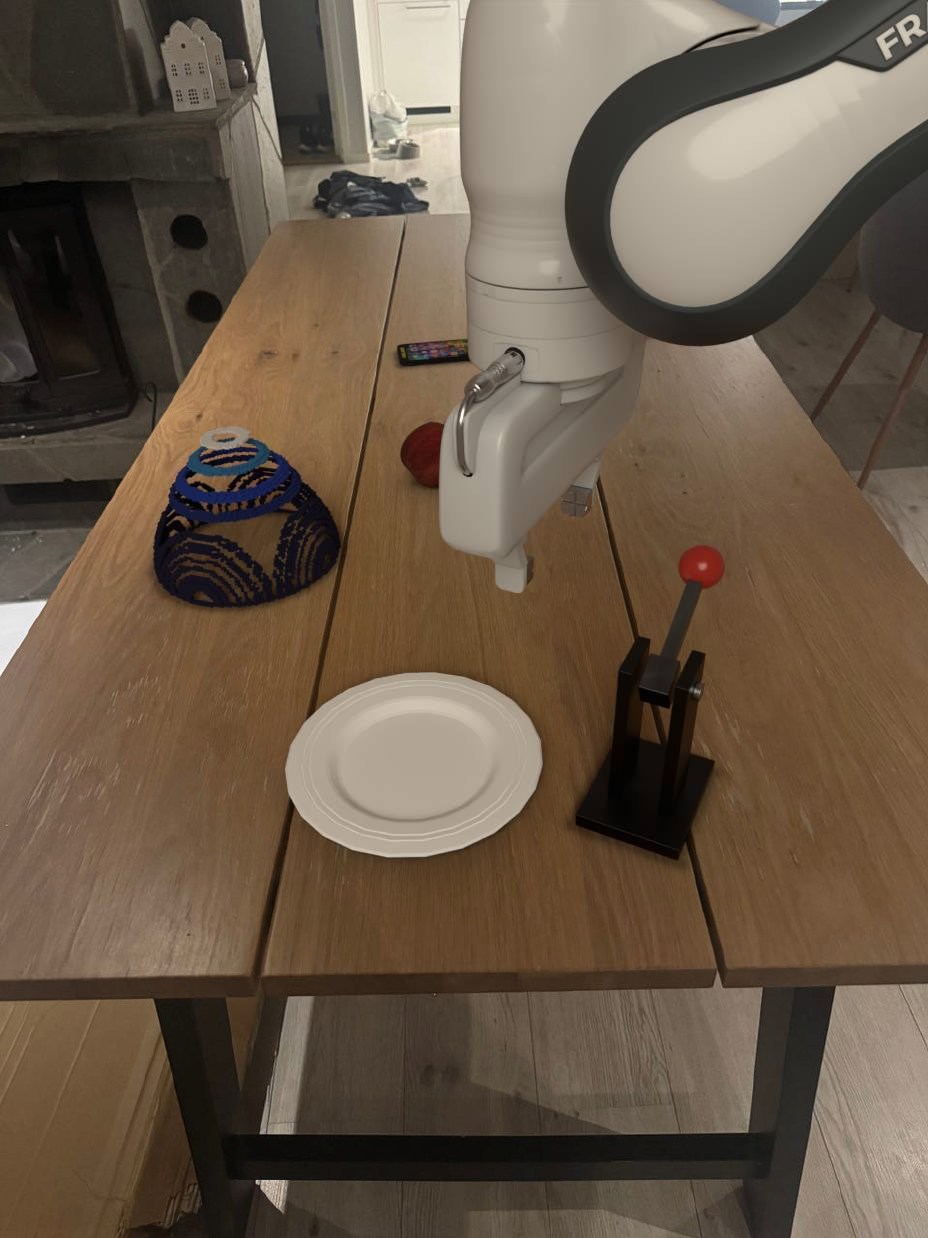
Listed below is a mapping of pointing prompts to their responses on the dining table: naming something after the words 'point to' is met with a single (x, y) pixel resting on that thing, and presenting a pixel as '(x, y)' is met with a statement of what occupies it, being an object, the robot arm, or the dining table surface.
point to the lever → (680, 624)
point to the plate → (414, 765)
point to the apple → (423, 453)
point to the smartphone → (433, 352)
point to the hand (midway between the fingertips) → (547, 546)
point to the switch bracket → (650, 765)
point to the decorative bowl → (262, 489)
